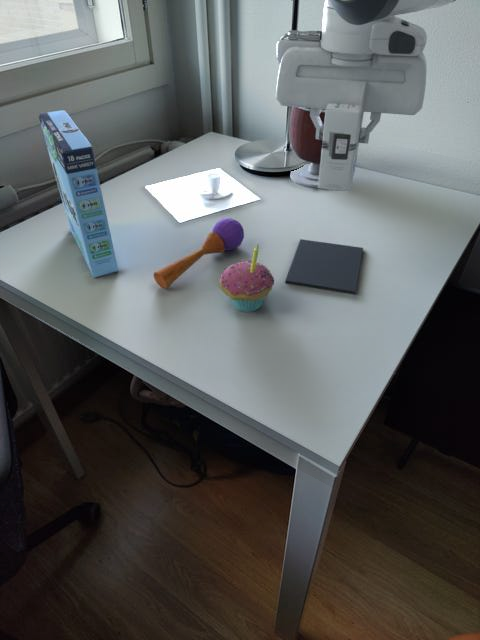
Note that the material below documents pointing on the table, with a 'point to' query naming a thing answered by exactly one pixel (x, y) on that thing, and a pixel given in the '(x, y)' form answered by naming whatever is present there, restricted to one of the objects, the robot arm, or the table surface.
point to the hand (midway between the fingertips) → (342, 140)
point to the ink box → (340, 145)
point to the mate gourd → (305, 146)
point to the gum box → (80, 190)
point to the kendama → (204, 250)
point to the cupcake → (247, 283)
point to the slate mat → (325, 266)
